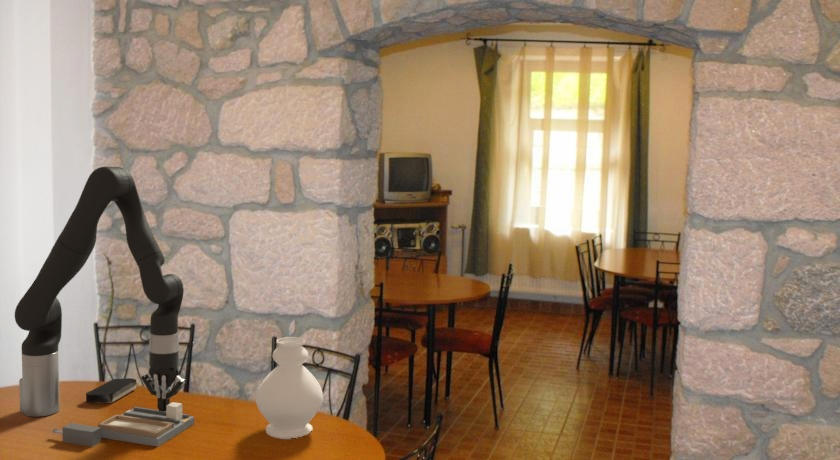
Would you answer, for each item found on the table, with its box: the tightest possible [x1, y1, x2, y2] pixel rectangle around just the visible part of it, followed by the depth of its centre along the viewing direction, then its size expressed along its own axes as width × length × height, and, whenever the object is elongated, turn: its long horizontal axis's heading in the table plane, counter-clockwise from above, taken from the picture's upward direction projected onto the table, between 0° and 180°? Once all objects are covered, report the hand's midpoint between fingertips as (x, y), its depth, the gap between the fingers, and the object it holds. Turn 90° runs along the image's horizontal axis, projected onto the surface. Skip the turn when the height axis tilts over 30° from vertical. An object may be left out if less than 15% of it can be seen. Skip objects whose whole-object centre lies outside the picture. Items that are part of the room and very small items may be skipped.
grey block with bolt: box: [52, 422, 102, 448], centre depth 203 cm, size 13×3×4 cm, turn 74°
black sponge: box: [85, 377, 138, 404], centre depth 237 cm, size 16×8×4 cm, turn 170°
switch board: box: [97, 406, 195, 447], centre depth 212 cm, size 19×17×3 cm
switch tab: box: [166, 401, 183, 420], centre depth 215 cm, size 3×3×4 cm
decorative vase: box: [255, 336, 324, 440], centre depth 214 cm, size 18×18×25 cm
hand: (163, 410), depth 216 cm, fingers closed
